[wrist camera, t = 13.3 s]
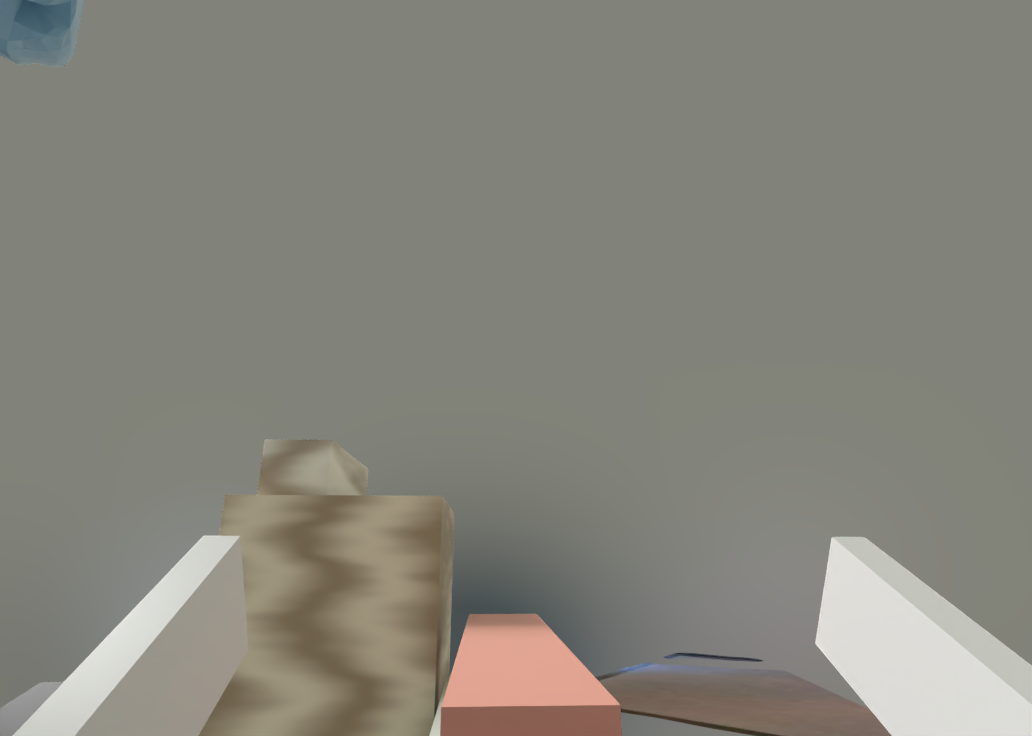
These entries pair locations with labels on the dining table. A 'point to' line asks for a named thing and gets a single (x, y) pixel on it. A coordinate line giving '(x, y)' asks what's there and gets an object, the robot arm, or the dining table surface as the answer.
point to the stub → (523, 684)
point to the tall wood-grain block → (337, 601)
